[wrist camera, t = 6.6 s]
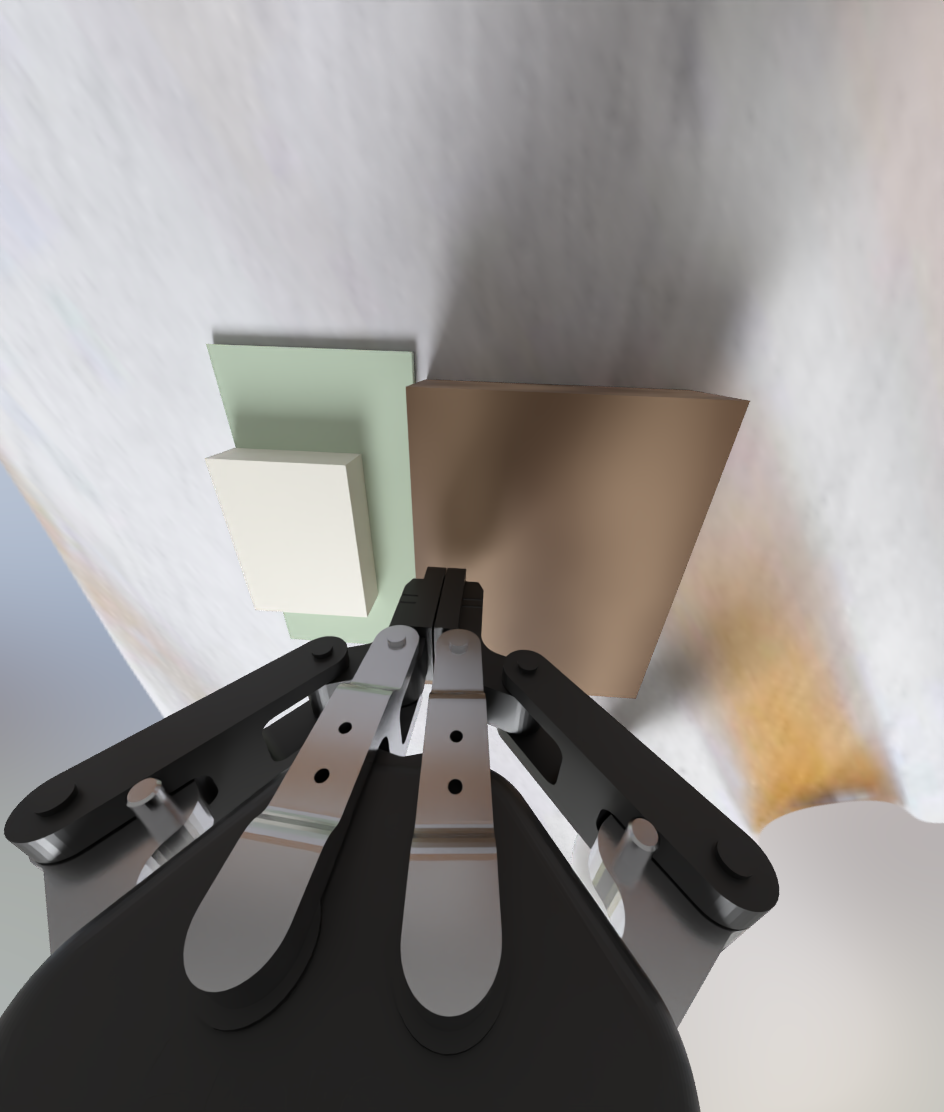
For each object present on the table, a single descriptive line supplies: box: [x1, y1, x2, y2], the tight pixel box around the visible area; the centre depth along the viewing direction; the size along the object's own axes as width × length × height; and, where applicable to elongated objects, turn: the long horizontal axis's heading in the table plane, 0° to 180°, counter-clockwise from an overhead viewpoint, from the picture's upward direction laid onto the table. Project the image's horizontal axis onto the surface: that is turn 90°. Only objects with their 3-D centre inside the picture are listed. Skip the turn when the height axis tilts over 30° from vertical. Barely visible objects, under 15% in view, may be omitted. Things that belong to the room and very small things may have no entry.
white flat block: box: [205, 448, 378, 617], centre depth 18 cm, size 6×8×2 cm
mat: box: [206, 344, 416, 644], centre depth 19 cm, size 8×16×1 cm, turn 178°
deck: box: [406, 379, 750, 699], centre depth 17 cm, size 11×14×4 cm
